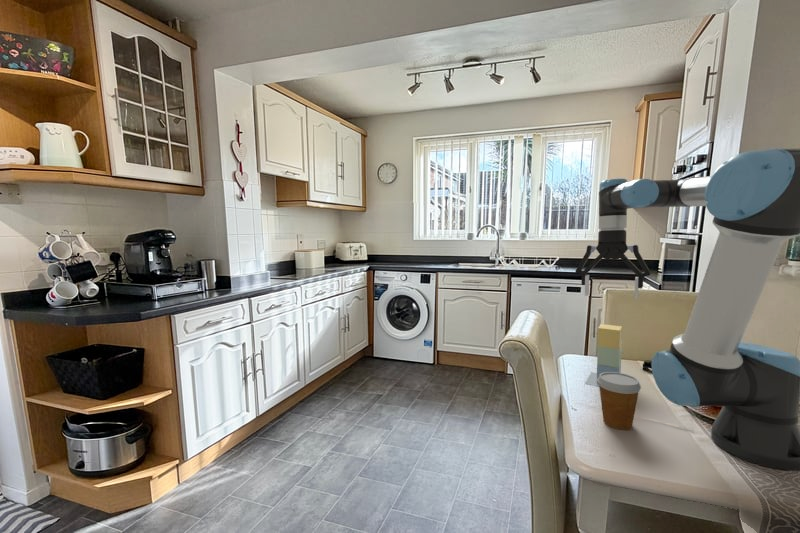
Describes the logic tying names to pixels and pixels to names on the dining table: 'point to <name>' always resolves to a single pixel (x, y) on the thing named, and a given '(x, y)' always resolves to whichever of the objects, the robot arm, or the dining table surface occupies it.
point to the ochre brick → (610, 336)
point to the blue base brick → (607, 369)
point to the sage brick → (609, 357)
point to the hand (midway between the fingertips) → (610, 296)
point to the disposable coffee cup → (618, 398)
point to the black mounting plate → (647, 365)
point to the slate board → (592, 379)
